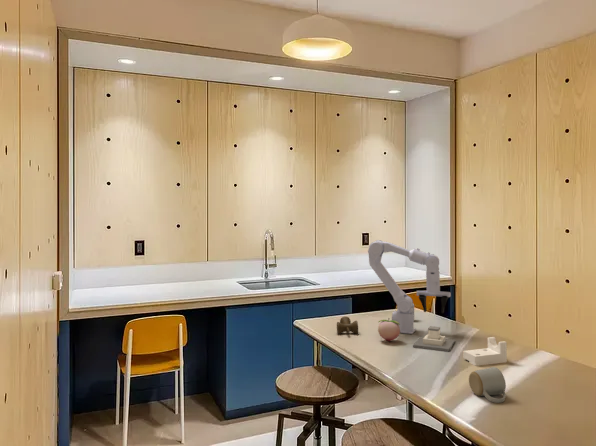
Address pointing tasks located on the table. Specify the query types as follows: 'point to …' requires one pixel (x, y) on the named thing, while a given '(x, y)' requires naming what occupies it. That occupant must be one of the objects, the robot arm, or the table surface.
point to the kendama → (347, 325)
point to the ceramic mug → (488, 383)
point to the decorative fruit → (389, 329)
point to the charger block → (434, 332)
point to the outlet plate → (434, 343)
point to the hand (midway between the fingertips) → (433, 312)
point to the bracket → (488, 353)
